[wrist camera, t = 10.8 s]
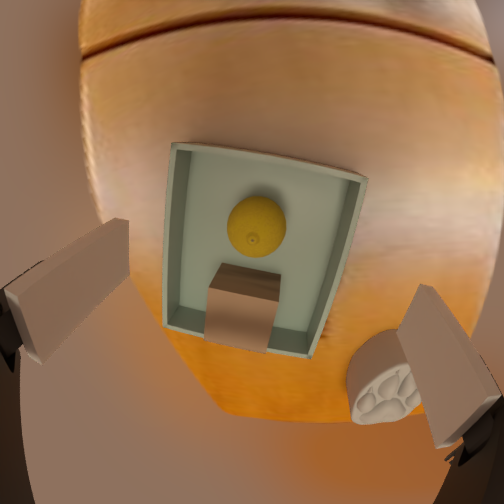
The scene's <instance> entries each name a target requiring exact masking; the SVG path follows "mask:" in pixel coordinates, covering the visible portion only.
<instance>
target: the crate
mask: <svg viewBox="0 0 504 504" xmlns="http://www.w3.org/2000/svg"><path fill="white" fill-rule="evenodd" d="M367 182H368V178H367V177H365V176H363V175H361V174H359V173H357V172H353V171H349V170H345V169H341V168H337V167H333V166H329V165H325V164H320V163H316V162H311V161H307V160H302V159H297V158H292V157H287V156H282V155H277V154H271V153H266V152H260V151H254V150H248V149H241V148H234V147H227V146H220V145H212V144H203V143H194V142H174V143H171V151H170V160H169V170H168V180H167V191H166V204H165V219H164V239H163V272H162V312H163V327H165V328H168V329H172V330H175V331H179V332H183V333H187V334H190V335H194V336H198V337H202V338H204V329H205V317H206V306H207V296H208V287H209V285H210V283H211V281H212V280H213V278H214V276H215V274H216V272H217V271H218V269H219V267H220V265H221V263H227V264H232V265H237V266H242V267H246V268H251V269H256V270H261V271H266V272H271V273H276V274H281V284H280V296H279V304H278V308H277V312H276V316H275V320H274V323H273V327H272V331H271V335H270V339H269V342H268V346H267V350H266V352H271V353H277V354H283V355H288V356H295V357H301V358H307V359H311V358H312V356H313V353H314V351H315V348H316V346H317V343H318V341H319V338H320V335H321V333H322V330H323V327H324V325H325V322H326V319H327V317H328V314H329V311H330V308H331V306H332V303H333V300H334V297H335V294H336V291H337V288H338V285H339V282H340V279H341V276H342V273H343V270H344V267H345V263H346V260H347V257H348V254H349V250H350V247H351V243H352V240H353V237H354V233H355V229H356V226H357V222H358V218H359V215H360V211H361V207H362V203H363V199H364V195H365V191H366V187H367ZM252 196H262V197H266V198H269V199H271V200H273V201H274V202H275V203H277V204H278V205H279V206H280V208H281V209H282V211H283V212H284V215H285V218H286V227H287V229H286V234H285V237H284V239H283V241H282V243H281V245H280V246H279V247H278V248H277V249H276V250H275V251H274V252H272V253H271V254H269V255H267V256H264V257H260V258H252V257H247V256H245V255H242V254H241V253H239V252H238V251H237V250H236V249H235V248H234V247H233V246H232V244H231V242H230V241H229V238H228V234H227V221H228V218H229V215H230V213H231V211H232V209H233V208H234V207H235V206H236V205H237V204H238V203H239V202H240V201H242V200H244V199H246V198H248V197H252Z"/></svg>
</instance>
